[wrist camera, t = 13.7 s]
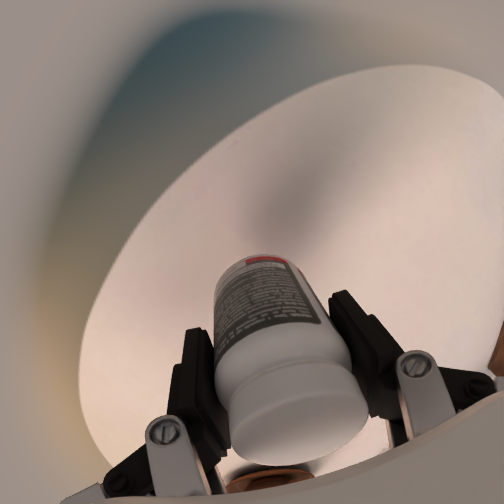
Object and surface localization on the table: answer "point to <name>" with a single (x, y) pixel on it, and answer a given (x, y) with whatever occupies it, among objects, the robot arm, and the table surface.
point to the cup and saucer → (267, 479)
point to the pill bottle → (281, 366)
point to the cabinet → (498, 356)
